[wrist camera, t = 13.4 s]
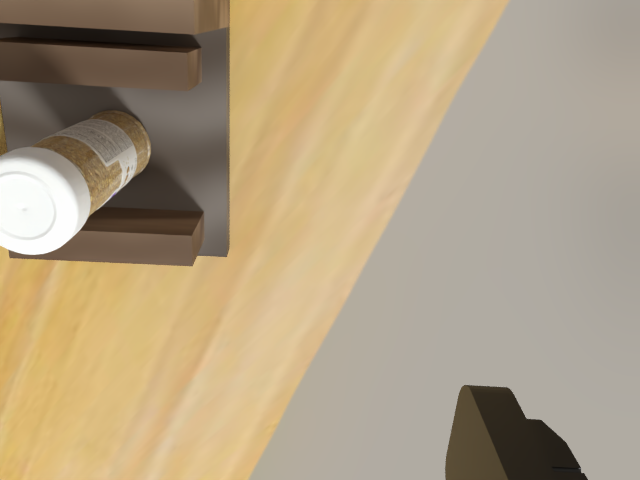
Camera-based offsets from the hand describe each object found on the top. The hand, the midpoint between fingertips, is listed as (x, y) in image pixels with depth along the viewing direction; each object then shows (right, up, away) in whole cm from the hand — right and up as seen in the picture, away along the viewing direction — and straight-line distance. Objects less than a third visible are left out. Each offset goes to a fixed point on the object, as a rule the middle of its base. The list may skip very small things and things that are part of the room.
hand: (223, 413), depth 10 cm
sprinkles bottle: (-11, +9, +28) cm, 31 cm away
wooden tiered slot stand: (-11, +10, +29) cm, 32 cm away
